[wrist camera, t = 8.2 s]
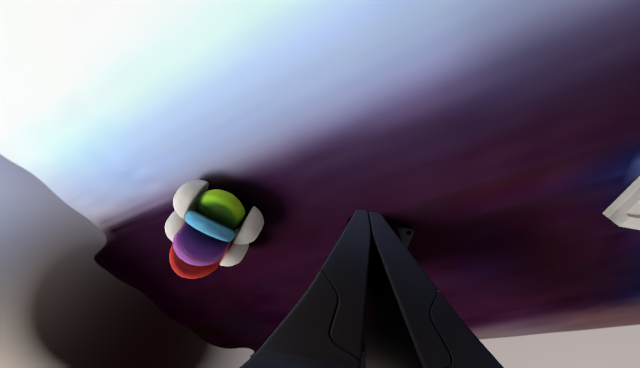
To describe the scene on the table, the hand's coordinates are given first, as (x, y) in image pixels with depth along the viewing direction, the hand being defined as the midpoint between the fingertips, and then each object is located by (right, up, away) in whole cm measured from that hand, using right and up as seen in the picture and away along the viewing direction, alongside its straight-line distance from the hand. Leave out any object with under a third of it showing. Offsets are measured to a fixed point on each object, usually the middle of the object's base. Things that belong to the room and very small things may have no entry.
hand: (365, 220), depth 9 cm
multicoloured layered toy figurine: (-12, -2, +18) cm, 22 cm away
